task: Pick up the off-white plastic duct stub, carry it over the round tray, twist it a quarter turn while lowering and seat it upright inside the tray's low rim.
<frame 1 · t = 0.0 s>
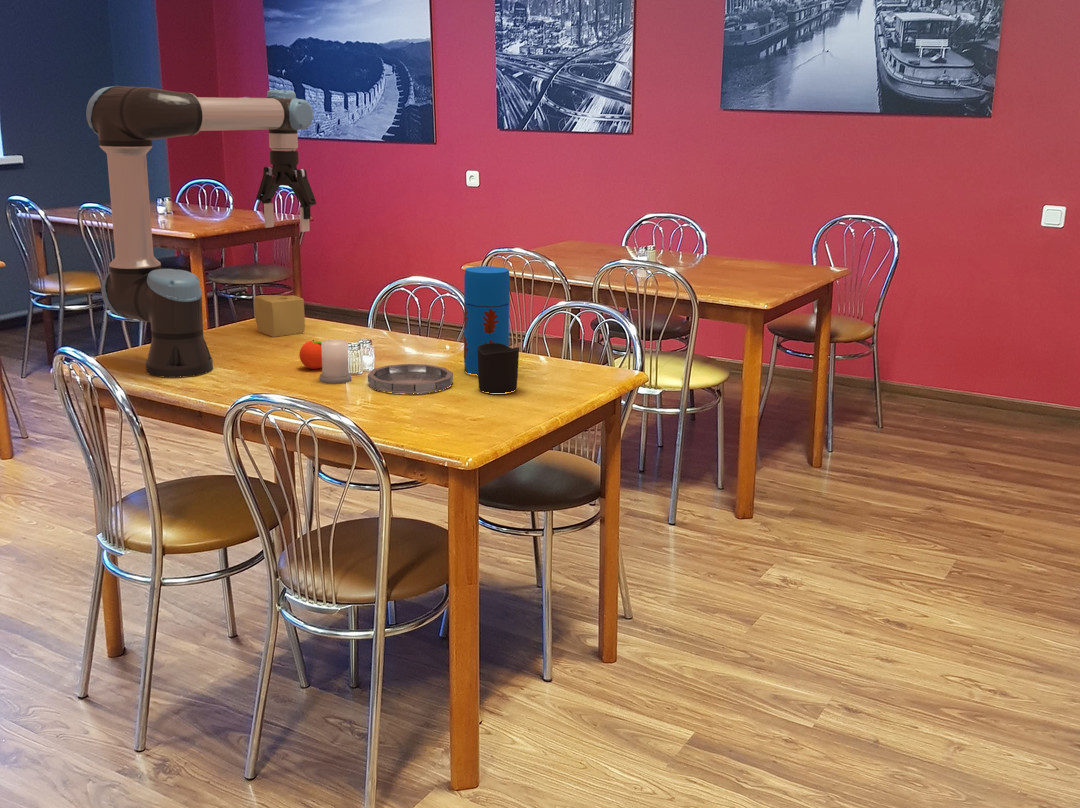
hand: (287, 229, 301), 28 cm above the table, tool pointing down, fingers open, 13 cm apart
pen holder: (497, 391, 252), on the table
thermos: (486, 372, 267), on the table
cheese: (280, 333, 305), on the table
round tray: (410, 383, 255), on the table
duct stub: (335, 380, 257), on the table
clementine: (316, 369, 267), on the table
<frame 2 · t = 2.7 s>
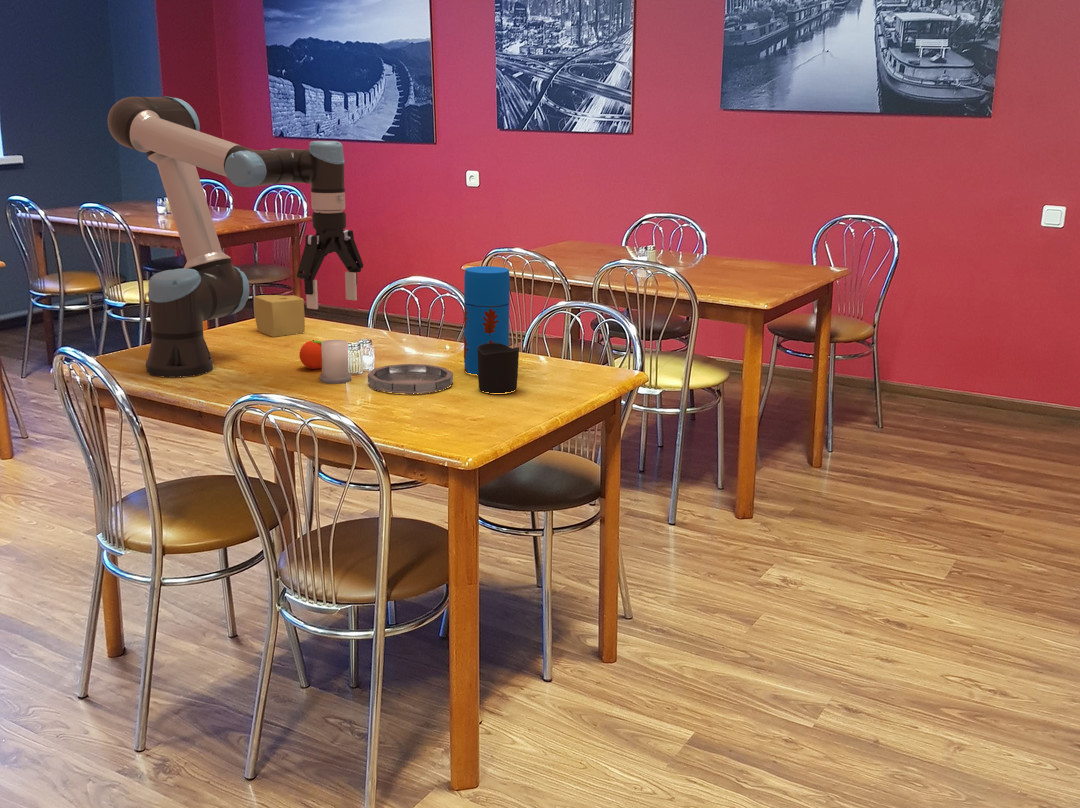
hand: (332, 304, 254), 17 cm above the table, tool pointing down, fingers open, 13 cm apart
nothing on the table moved.
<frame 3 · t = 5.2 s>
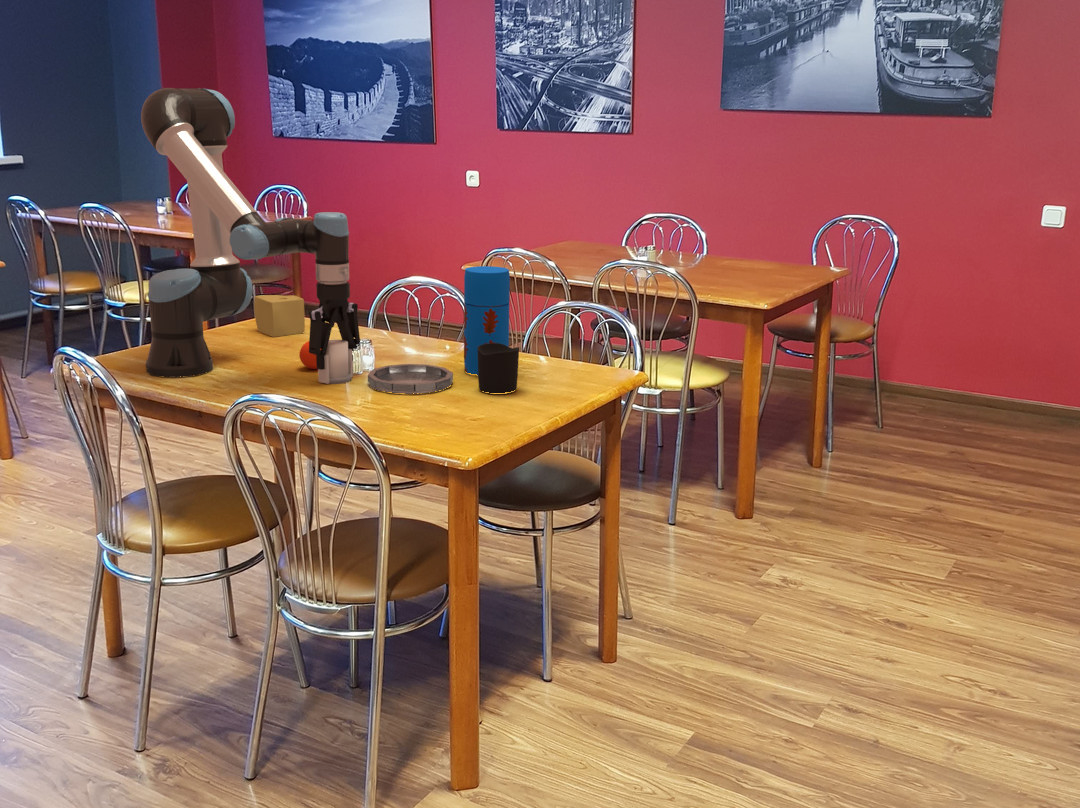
hand: (336, 378, 257), 0 cm above the table, tool pointing down, fingers closed on duct stub, 7 cm apart
duct stub: (335, 380, 257), on the table, touching gripper
everything else where it was.
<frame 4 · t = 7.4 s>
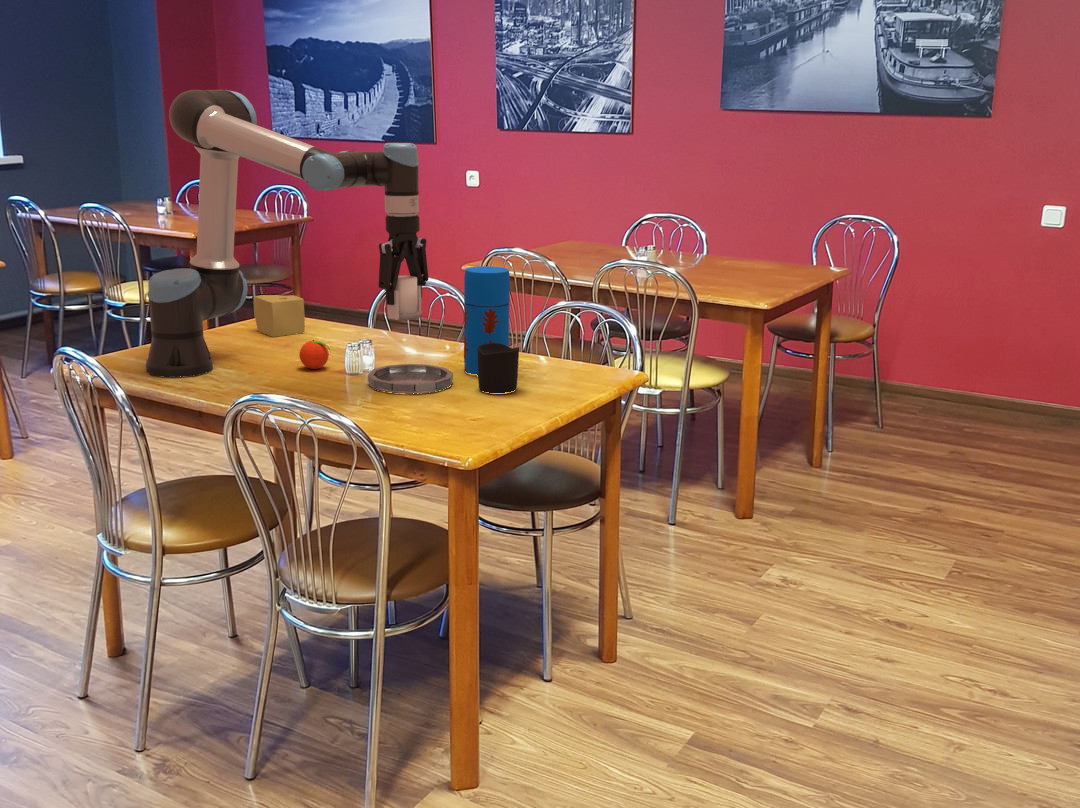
hand: (404, 316, 250), 16 cm above the table, tool pointing down, fingers closed on duct stub, 7 cm apart
duct stub: (404, 317, 251), point 16 cm above the table, touching gripper
everything else where it was.
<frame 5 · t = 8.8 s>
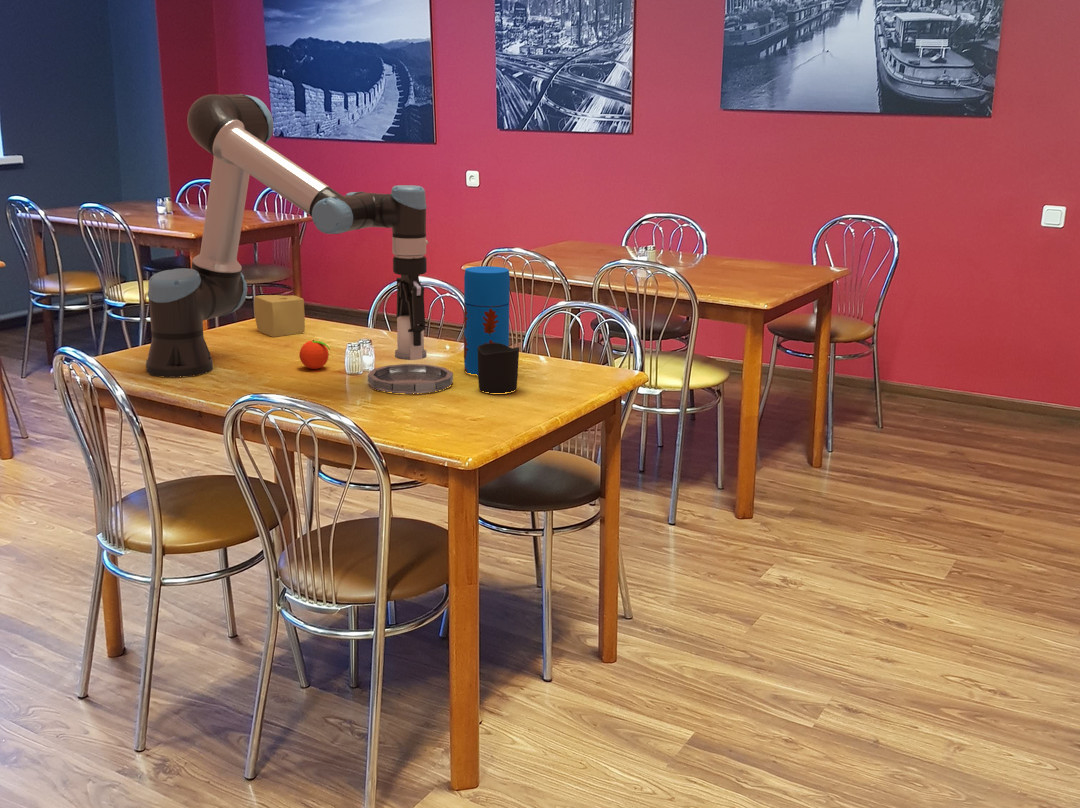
hand: (411, 355, 253), 7 cm above the table, tool pointing down, fingers closed on duct stub, 7 cm apart
duct stub: (410, 356, 253), point 7 cm above the table, touching gripper
everything else where it was.
when the fingers open (2 cm above the table, at t = 9.9 s): duct stub drops 1 cm, resting on round tray.
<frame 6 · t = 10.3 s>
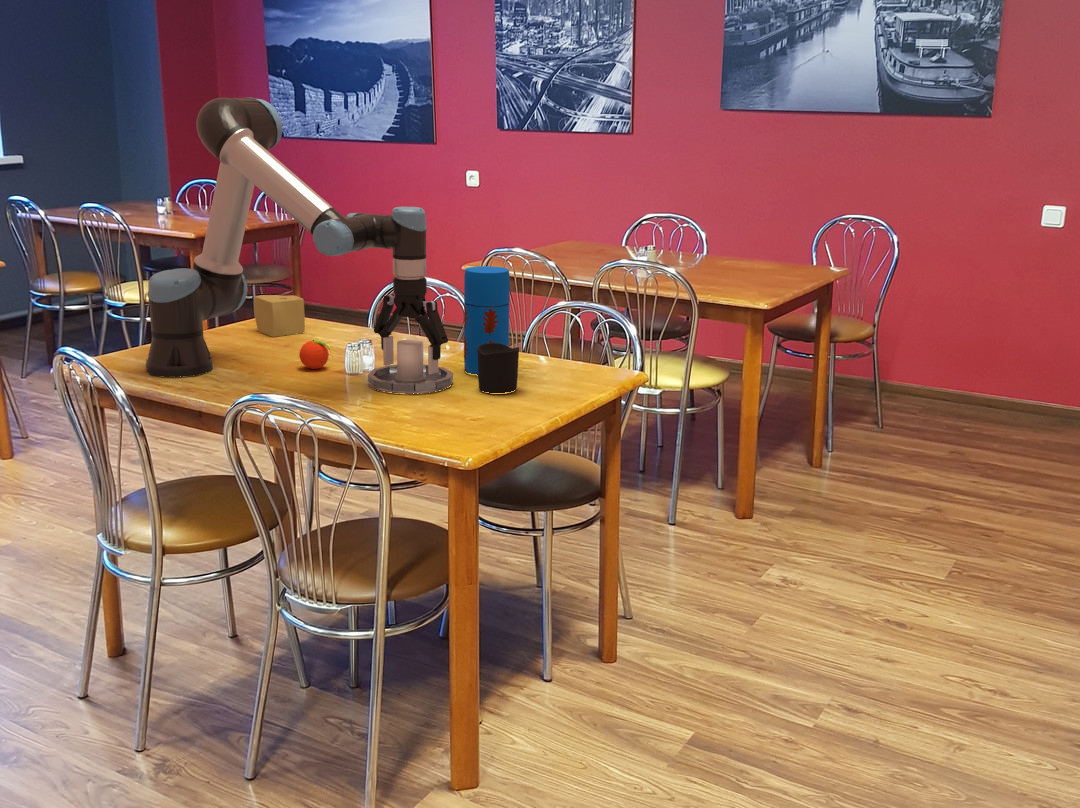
hand: (410, 368, 254), 4 cm above the table, tool pointing down, fingers open, 13 cm apart
duct stub: (410, 380, 255), point 1 cm above the table, touching round tray
everything else where it was.
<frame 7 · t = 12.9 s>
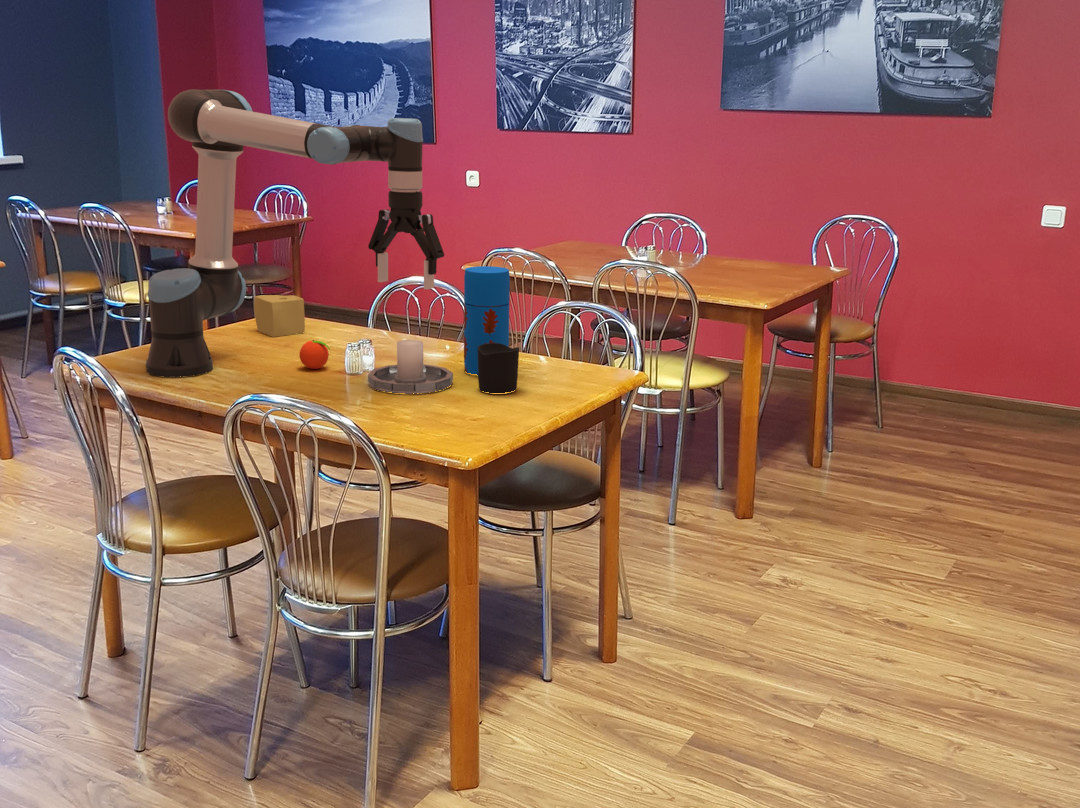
hand: (405, 285, 250), 23 cm above the table, tool pointing down, fingers open, 13 cm apart
nothing on the table moved.
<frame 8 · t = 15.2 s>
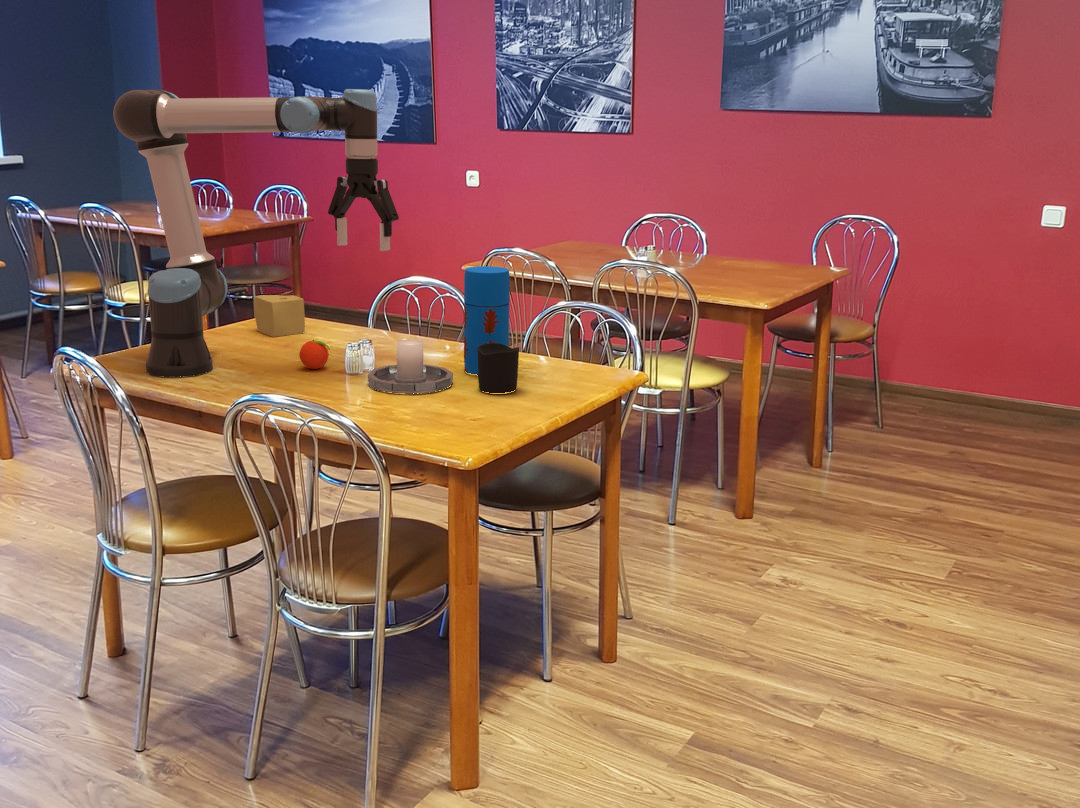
hand: (363, 247, 265), 29 cm above the table, tool pointing down, fingers open, 13 cm apart
nothing on the table moved.
at the end: duct stub inside the target area on the round tray (0.1 cm from its centre), point 0.8 cm above the round tray's base; duct stub tilted 0°; the gripper is holding nothing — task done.
